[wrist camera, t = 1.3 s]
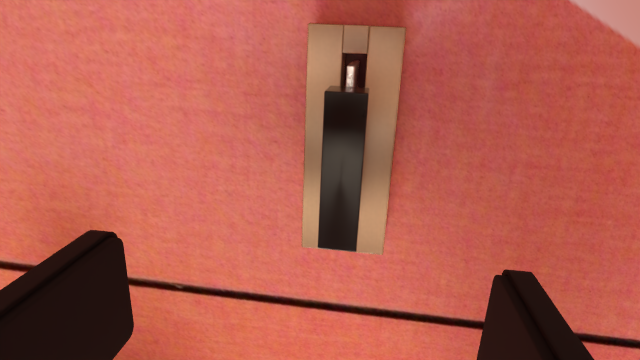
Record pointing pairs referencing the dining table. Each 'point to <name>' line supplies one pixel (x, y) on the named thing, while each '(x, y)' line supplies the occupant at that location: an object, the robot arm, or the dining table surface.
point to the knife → (342, 162)
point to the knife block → (384, 91)
